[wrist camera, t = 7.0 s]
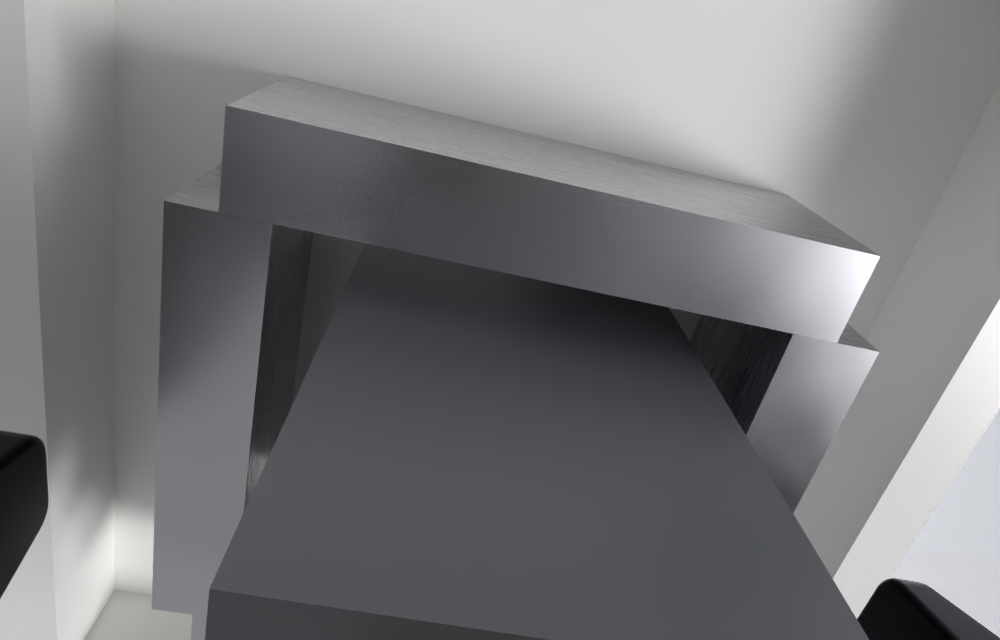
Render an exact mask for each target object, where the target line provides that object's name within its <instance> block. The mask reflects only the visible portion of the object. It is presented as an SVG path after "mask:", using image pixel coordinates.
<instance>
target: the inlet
mask: <svg viewBox="0 0 1000 640" xmlns="http://www.w3.org/2000/svg"><path fill="white" fill-rule="evenodd" d="M314 233H319V234H324V235H328V236H333V237H338V238H343V239H347V240H352V241H357V242H362V243H366V244H371V245H376V246H380V247H385V248H390V249H395V250H399V251H404V252H409V253H414V254H418V255H423V256H428V257H432V258H437V259H442V260H447V261H451V262H456V263H461V264H466V265H470V266H475V267H480V268H485V269H489V270H494V271H499V272H503V273H508V274H513V275H518V276H522V277H527V278H532V279H537V280H541V281H546V282H551V283H555V284H560V285H565V286H570V287H574V288H579V289H584V290H589V291H593V292H598V293H603V294H607V295H612V296H617V297H622V298H626V299H631V300H636V301H641V302H645V303H650V304H655V305H660V306H664V307H669V308H674V309H678V310H683V311H688V312H693V313H697V314H700V316H699V319H698V322H697V324H696V327H695V329H694V332H693V334H692V337H691V339H690V343H691V345H692V347H693V348H694V350H695V352H696V353H697V355H698V357H699V358H700V360H701V362H702V363H703V365H704V367H705V368H706V370H707V372H708V373H709V375H710V377H711V378H712V380H713V382H714V383H715V385H716V387H717V388H718V390H719V392H720V393H721V395H722V397H723V398H724V400H725V401H726V403H727V405H728V406H729V408H730V410H731V411H732V413H733V415H734V416H735V418H736V420H737V421H738V423H739V425H740V426H741V428H742V430H743V431H744V433H745V435H746V436H747V438H748V440H749V441H750V443H751V445H752V446H753V448H754V450H755V451H756V453H757V454H758V456H759V458H760V459H761V461H762V463H763V464H764V466H765V468H766V469H767V471H768V473H769V474H770V476H771V478H772V479H773V481H774V483H775V484H776V486H777V488H778V489H779V491H780V493H781V494H782V496H783V498H784V499H785V501H786V503H787V504H788V506H789V508H790V509H791V511H792V512H793V513H794V511H795V509H796V507H797V505H798V503H799V502H800V500H801V498H802V496H803V494H804V492H805V490H806V489H807V487H808V485H809V483H810V481H811V479H812V477H813V475H814V474H815V472H816V470H817V468H818V466H819V464H820V462H821V460H822V459H823V457H824V455H825V453H826V451H827V449H828V447H829V446H830V444H831V442H832V440H833V438H834V436H835V434H836V432H837V431H838V429H839V427H840V425H841V423H842V421H843V419H844V418H845V416H846V414H847V412H848V410H849V408H850V406H851V404H852V403H853V401H854V399H855V397H856V395H857V393H858V391H859V389H860V388H861V386H862V384H863V382H864V380H865V378H866V376H867V375H868V373H869V371H870V369H871V367H872V365H873V363H874V361H875V360H876V358H877V356H878V354H879V351H878V350H877V349H876V348H875V347H873V346H872V345H871V344H870V343H869V342H868V341H867V340H866V339H864V338H863V337H862V336H861V335H860V334H859V333H858V332H857V331H856V330H854V329H853V328H852V327H851V326H850V325H849V324H848V323H847V322H848V320H849V318H850V316H851V314H852V312H853V310H854V308H855V306H856V304H857V302H858V300H859V298H860V296H861V294H862V292H863V290H864V288H865V286H866V284H867V282H868V280H869V278H870V276H871V274H872V272H873V270H874V268H875V266H876V264H877V262H878V260H879V258H880V256H879V255H878V254H876V253H875V252H873V251H872V250H870V249H869V248H867V247H866V246H864V245H863V244H861V243H859V242H858V241H856V240H855V239H853V238H852V237H850V236H849V235H847V234H846V233H844V232H843V231H841V230H840V229H838V228H837V227H835V226H834V225H832V224H831V223H829V222H828V221H826V220H824V219H823V218H821V217H820V216H818V215H817V214H815V213H814V212H812V211H811V210H809V209H808V208H806V207H805V206H803V205H802V204H800V203H799V202H797V201H796V200H794V199H793V198H791V197H790V196H788V195H786V194H781V193H777V192H773V191H769V190H765V189H760V188H756V187H752V186H748V185H744V184H740V183H735V182H731V181H727V180H723V179H719V178H714V177H710V176H706V175H702V174H698V173H693V172H689V171H685V170H681V169H677V168H672V167H668V166H664V165H660V164H656V163H652V162H647V161H643V160H639V159H635V158H631V157H626V156H622V155H618V154H614V153H610V152H605V151H601V150H597V149H593V148H589V147H585V146H580V145H576V144H572V143H568V142H564V141H559V140H555V139H551V138H547V137H543V136H538V135H534V134H530V133H526V132H522V131H517V130H513V129H509V128H505V127H501V126H497V125H492V124H488V123H484V122H480V121H476V120H471V119H467V118H463V117H459V116H455V115H450V114H446V113H442V112H438V111H434V110H430V109H425V108H421V107H417V106H413V105H409V104H404V103H400V102H396V101H392V100H388V99H383V98H379V97H375V96H371V95H367V94H362V93H358V92H354V91H350V90H346V89H342V88H337V87H333V86H329V85H325V84H321V83H316V82H312V81H308V80H304V79H300V78H295V77H291V76H289V77H287V78H285V79H283V80H281V81H278V82H276V83H274V84H272V85H269V86H267V87H265V88H263V89H260V90H258V91H256V92H254V93H252V94H249V95H247V96H245V97H243V98H240V99H238V100H236V101H234V102H232V103H229V104H227V105H226V107H225V122H224V137H223V153H222V162H221V163H220V164H218V165H217V166H215V167H214V168H212V169H211V170H209V171H208V172H206V173H205V174H203V175H202V176H200V177H199V178H197V179H196V180H194V181H193V182H191V183H190V184H188V185H187V186H185V187H184V188H182V189H181V190H179V191H178V192H176V193H175V194H173V195H172V196H170V197H169V198H167V199H166V200H164V211H163V245H162V278H161V312H160V345H159V379H158V412H157V446H156V479H155V513H154V546H153V580H152V609H156V610H163V611H170V612H178V613H185V614H192V629H191V640H205V632H206V621H207V609H208V598H209V589H210V586H211V584H212V582H213V580H214V577H215V575H216V573H217V571H218V569H219V566H220V564H221V562H222V560H223V557H224V555H225V553H226V551H227V549H228V546H229V544H230V542H231V540H232V537H233V535H234V533H235V531H236V529H237V526H238V524H239V522H240V520H241V517H242V515H243V513H244V511H245V509H246V506H247V504H248V502H249V500H250V497H251V495H252V493H253V491H254V489H255V486H256V484H257V482H258V480H259V477H260V475H261V473H262V471H263V469H264V466H265V464H266V462H267V460H268V457H269V455H270V453H271V451H272V449H273V446H274V444H275V442H276V440H277V437H278V435H279V433H280V431H281V429H282V426H283V424H284V422H285V420H286V417H287V415H288V413H289V411H290V409H291V406H292V399H293V391H294V384H295V376H296V368H297V360H298V352H299V344H300V336H301V329H302V321H303V313H304V305H305V297H306V289H307V282H308V274H309V266H310V258H311V250H312V242H313V234H314Z"/></svg>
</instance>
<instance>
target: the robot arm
mask: <svg viewBox="0 0 1000 640" xmlns="http://www.w3.org/2000/svg"><path fill="white" fill-rule="evenodd" d="M48 502H49V498H48V479H47V461H46V449H45V445H44V443H43V441H42V440H41V439H40V438H38V437H37V436H34V435H28V434H22V433H16V432H10V431H4V430H0V599H1V597H2V595H3V594H4V592H5V590H6V588H7V587H8V585H9V583H10V581H11V580H12V578H13V576H14V574H15V573H16V571H17V569H18V567H19V566H20V564H21V562H22V560H23V559H24V557H25V555H26V553H27V552H28V550H29V548H30V546H31V545H32V543H33V541H34V539H35V538H36V536H37V534H38V532H39V531H40V529H41V527H42V525H43V523H44V520H45V518H46V514H47V510H48ZM857 620H858V622H859V623H860V625H861V627H862V628H863V630H864V632H865V633H866V635H867V637H868V638H869V640H1000V638H999V637H998V636H996V635H995V634H993V633H992V632H991V631H989V630H988V629H987V628H985V627H984V626H983V625H981V624H980V623H978V622H977V621H976V620H974V619H973V618H972V617H970V616H969V615H967V614H966V613H965V612H963V611H962V610H961V609H959V608H958V607H956V606H955V605H954V604H952V603H951V602H950V601H948V600H947V599H945V598H944V597H943V596H941V595H940V594H939V593H937V592H936V591H935V590H933V589H932V588H930V587H929V586H927V585H925V584H922V583H919V582H914V581H908V580H901V579H895V578H891V579H886V580H885V581H883V582H881V583H880V584H879V585H878V587H877V588H876V590H875V591H874V593H873V595H872V596H871V598H870V599H869V601H868V602H867V604H866V606H865V607H864V609H863V610H862V612H861V613H860V615H859V617H858V618H857Z"/></svg>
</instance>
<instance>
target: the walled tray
mask: <svg viewBox="0 0 1000 640" xmlns="http://www.w3.org/2000/svg"><path fill="white" fill-rule="evenodd" d="M289 76H291V77H295V78H300V79H304V80H308V81H312V82H316V83H321V84H325V85H329V86H333V87H337V88H342V89H346V90H350V91H354V92H358V93H362V94H367V95H371V96H375V97H379V98H383V99H388V100H392V101H396V102H400V103H404V104H409V105H413V106H417V107H421V108H425V109H430V110H434V111H438V112H442V113H446V114H450V115H455V116H459V117H463V118H467V119H471V120H476V121H480V122H484V123H488V124H492V125H497V126H501V127H505V128H509V129H513V130H517V131H522V132H526V133H530V134H534V135H538V136H543V137H547V138H551V139H555V140H559V141H564V142H568V143H572V144H576V145H580V146H585V147H589V148H593V149H597V150H601V151H605V152H610V153H614V154H618V155H622V156H626V157H631V158H635V159H639V160H643V161H647V162H652V163H656V164H660V165H664V166H668V167H672V168H677V169H681V170H685V171H689V172H693V173H698V174H702V175H706V176H710V177H714V178H719V179H723V180H727V181H731V182H735V183H740V184H744V185H748V186H752V187H756V188H760V189H765V190H769V191H773V192H777V193H781V194H786V195H788V196H790V197H791V198H793V199H794V200H796V201H797V202H799V203H800V204H802V205H803V206H805V207H806V208H808V209H809V210H811V211H812V212H814V213H815V214H817V215H818V216H820V217H821V218H823V219H824V220H826V221H828V222H829V223H831V224H832V225H834V226H835V227H837V228H838V229H840V230H841V231H843V232H844V233H846V234H847V235H849V236H850V237H852V238H853V239H855V240H856V241H858V242H859V243H861V244H863V245H864V246H866V247H867V248H869V249H870V250H872V251H873V252H875V253H876V254H878V255H879V256H880V258H879V260H878V262H877V264H876V266H875V268H874V270H873V272H872V274H871V276H870V278H869V280H868V282H867V284H866V286H865V288H864V290H863V292H862V294H861V296H860V298H859V300H858V302H857V304H856V306H855V308H854V310H853V312H852V314H851V316H850V318H849V320H848V322H847V323H848V324H849V325H850V326H851V327H852V328H853V329H854V330H856V331H857V332H858V333H859V334H860V335H861V336H862V337H863V338H864V339H866V340H867V341H868V342H869V343H870V344H871V345H872V346H873V347H875V348H876V349H877V350H878V351H879V354H878V356H877V358H876V360H875V361H874V363H873V365H872V367H871V369H870V371H869V373H868V375H867V376H866V378H865V380H864V382H863V384H862V386H861V388H860V389H859V391H858V393H857V395H856V397H855V399H854V401H853V403H852V404H851V406H850V408H849V410H848V412H847V414H846V416H845V418H844V419H843V421H842V423H841V425H840V427H839V429H838V431H837V432H836V434H835V436H834V438H833V440H832V442H831V444H830V446H829V447H828V449H827V451H826V453H825V455H824V457H823V459H822V460H821V462H820V464H819V466H818V468H817V470H816V472H815V474H814V475H813V477H812V479H811V481H810V483H809V485H808V487H807V489H806V490H805V492H804V494H803V496H802V498H801V500H800V502H799V503H798V505H797V507H796V509H795V511H794V513H793V514H794V516H795V517H796V519H797V521H798V522H799V524H800V526H801V527H802V529H803V531H804V532H805V534H806V536H807V537H808V539H809V541H810V542H811V544H812V546H813V547H814V549H815V551H816V552H817V554H818V556H819V557H820V559H821V561H822V562H823V564H824V565H825V567H826V569H827V570H828V572H829V574H830V575H831V577H832V579H833V580H834V582H835V584H836V585H837V587H838V589H839V590H840V592H841V594H842V595H843V597H844V599H845V600H846V602H847V604H848V605H849V607H850V609H851V610H852V612H853V614H854V615H855V617H856V619H857V618H858V617H859V615H860V613H861V612H862V610H863V609H864V607H865V606H866V604H867V602H868V601H869V599H870V598H871V596H872V595H873V593H874V591H875V590H876V588H877V587H878V585H879V584H880V583H881V582H883V581H885V580H886V579H890V578H891V576H892V574H893V573H894V571H895V570H896V568H897V567H898V565H899V564H900V562H901V561H902V559H903V557H904V556H905V554H906V553H907V551H908V550H909V548H910V547H911V545H912V543H913V542H914V540H915V539H916V537H917V536H918V534H919V533H920V531H921V529H922V528H923V526H924V525H925V523H926V522H927V520H928V519H929V517H930V516H931V514H932V512H933V511H934V509H935V508H936V506H937V505H938V503H939V502H940V500H941V498H942V497H943V495H944V494H945V492H946V491H947V489H948V488H949V486H950V485H951V483H952V481H953V480H954V478H955V477H956V475H957V474H958V472H959V471H960V469H961V467H962V466H963V464H964V463H965V461H966V460H967V458H968V457H969V455H970V453H971V452H972V450H973V449H974V447H975V446H976V444H977V443H978V441H979V440H980V438H981V436H982V435H983V433H984V432H985V430H986V429H987V427H988V426H989V424H990V422H991V421H992V419H993V418H994V416H995V415H996V413H997V412H998V410H999V409H1000V0H0V430H4V431H10V432H16V433H22V434H28V435H34V436H37V437H38V438H40V439H41V440H42V441H43V443H44V445H45V449H46V461H47V479H48V498H49V502H48V510H47V514H46V518H45V520H44V523H43V525H42V527H41V529H40V531H39V532H38V534H37V536H36V538H35V539H34V541H33V543H32V545H31V546H30V548H29V550H28V552H27V553H26V555H25V557H24V559H23V560H22V562H21V564H20V566H19V567H18V569H17V571H16V573H15V574H14V576H13V578H12V580H11V581H10V583H9V585H8V587H7V588H6V590H5V592H4V594H3V595H2V597H1V599H0V640H191V629H192V614H185V613H178V612H170V611H163V610H156V609H152V580H153V546H154V513H155V479H156V446H157V412H158V379H159V345H160V312H161V278H162V245H163V211H164V200H166V199H167V198H169V197H170V196H172V195H173V194H175V193H176V192H178V191H179V190H181V189H182V188H184V187H185V186H187V185H188V184H190V183H191V182H193V181H194V180H196V179H197V178H199V177H200V176H202V175H203V174H205V173H206V172H208V171H209V170H211V169H212V168H214V167H215V166H217V165H218V164H220V163H221V162H222V153H223V137H224V122H225V107H226V105H227V104H229V103H232V102H234V101H236V100H238V99H240V98H243V97H245V96H247V95H249V94H252V93H254V92H256V91H258V90H260V89H263V88H265V87H267V86H269V85H272V84H274V83H276V82H278V81H281V80H283V79H285V78H287V77H289ZM364 244H365V243H362V242H357V241H352V240H347V239H343V238H338V237H333V236H328V235H324V234H319V233H314V234H313V242H312V250H311V258H310V266H309V274H308V282H307V289H306V297H305V305H304V313H303V321H302V329H301V336H300V344H299V352H298V360H297V368H296V376H295V384H294V391H293V399H292V404H293V402H294V400H295V397H296V395H297V393H298V391H299V389H300V386H301V384H302V382H303V380H304V378H305V375H306V373H307V371H308V369H309V366H310V364H311V362H312V360H313V358H314V355H315V353H316V351H317V349H318V346H319V344H320V342H321V340H322V338H323V335H324V333H325V331H326V329H327V326H328V324H329V322H330V320H331V318H332V315H333V313H334V311H335V309H336V306H337V304H338V302H339V300H340V298H341V295H342V293H343V291H344V289H345V286H346V284H347V282H348V280H349V278H350V275H351V273H352V271H353V269H354V266H355V264H356V262H357V260H358V258H359V255H360V253H361V251H362V249H363V246H364ZM669 309H670V310H671V312H672V314H673V315H674V317H675V319H676V320H677V322H678V324H679V325H680V327H681V329H682V330H683V332H684V334H685V335H686V337H687V339H688V340H689V342H690V339H691V337H692V334H693V332H694V329H695V327H696V324H697V322H698V319H699V316H700V314H697V313H693V312H688V311H683V310H678V309H674V308H669Z"/></svg>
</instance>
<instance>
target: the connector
mask: <svg viewBox="0 0 1000 640" xmlns="http://www.w3.org/2000/svg"><path fill="white" fill-rule="evenodd" d="M205 640H869V638H868V637H867V635H866V633H865V632H864V630H863V628H862V627H861V625H860V623H859V622H858V620H857V619H856V617H855V615H854V614H853V612H852V610H851V609H850V607H849V605H848V604H847V602H846V600H845V599H844V597H843V595H842V594H841V592H840V590H839V589H838V587H837V585H836V584H835V582H834V580H833V579H832V577H831V575H830V574H829V572H828V570H827V569H826V567H825V565H824V564H823V562H822V561H821V559H820V557H819V556H818V554H817V552H816V551H815V549H814V547H813V546H812V544H811V542H810V541H809V539H808V537H807V536H806V534H805V532H804V531H803V529H802V527H801V526H800V524H799V522H798V521H797V519H796V517H795V516H794V514H793V512H792V511H791V509H790V508H789V506H788V504H787V503H786V501H785V499H784V498H783V496H782V494H781V493H780V491H779V489H778V488H777V486H776V484H775V483H774V481H773V479H772V478H771V476H770V474H769V473H768V471H767V469H766V468H765V466H764V464H763V463H762V461H761V459H760V458H759V456H758V454H757V453H756V451H755V450H754V448H753V446H752V445H751V443H750V441H749V440H748V438H747V436H746V435H745V433H744V431H743V430H742V428H741V426H740V425H739V423H738V421H737V420H736V418H735V416H734V415H733V413H732V411H731V410H730V408H729V406H728V405H727V403H726V401H725V400H724V398H723V397H722V395H721V393H720V392H719V390H718V388H717V387H716V385H715V383H714V382H713V380H712V378H711V377H710V375H709V373H708V372H707V370H706V368H705V367H704V365H703V363H702V362H701V360H700V358H699V357H698V355H697V353H696V352H695V350H694V348H693V347H692V345H691V343H690V342H689V340H688V339H687V337H686V335H685V334H684V332H683V330H682V329H681V327H680V325H679V324H678V322H677V320H676V319H675V317H674V315H673V314H672V312H671V310H670V309H669V307H664V306H660V305H655V304H650V303H645V302H641V301H636V300H631V299H626V298H622V297H617V296H612V295H607V294H603V293H598V292H593V291H589V290H584V289H579V288H574V287H570V286H565V285H560V284H555V283H551V282H546V281H541V280H537V279H532V278H527V277H522V276H518V275H513V274H508V273H503V272H499V271H494V270H489V269H485V268H480V267H475V266H470V265H466V264H461V263H456V262H451V261H447V260H442V259H437V258H432V257H428V256H423V255H418V254H414V253H409V252H404V251H399V250H395V249H390V248H385V247H380V246H376V245H371V244H366V243H365V244H364V246H363V249H362V251H361V253H360V255H359V258H358V260H357V262H356V264H355V266H354V269H353V271H352V273H351V275H350V278H349V280H348V282H347V284H346V286H345V289H344V291H343V293H342V295H341V298H340V300H339V302H338V304H337V306H336V309H335V311H334V313H333V315H332V318H331V320H330V322H329V324H328V326H327V329H326V331H325V333H324V335H323V338H322V340H321V342H320V344H319V346H318V349H317V351H316V353H315V355H314V358H313V360H312V362H311V364H310V366H309V369H308V371H307V373H306V375H305V378H304V380H303V382H302V384H301V386H300V389H299V391H298V393H297V395H296V397H295V400H294V402H293V404H292V406H291V409H290V411H289V413H288V415H287V417H286V420H285V422H284V424H283V426H282V429H281V431H280V433H279V435H278V437H277V440H276V442H275V444H274V446H273V449H272V451H271V453H270V455H269V457H268V460H267V462H266V464H265V466H264V469H263V471H262V473H261V475H260V477H259V480H258V482H257V484H256V486H255V489H254V491H253V493H252V495H251V497H250V500H249V502H248V504H247V506H246V509H245V511H244V513H243V515H242V517H241V520H240V522H239V524H238V526H237V529H236V531H235V533H234V535H233V537H232V540H231V542H230V544H229V546H228V549H227V551H226V553H225V555H224V557H223V560H222V562H221V564H220V566H219V569H218V571H217V573H216V575H215V577H214V580H213V582H212V584H211V586H210V589H209V598H208V609H207V621H206V632H205Z"/></svg>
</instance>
